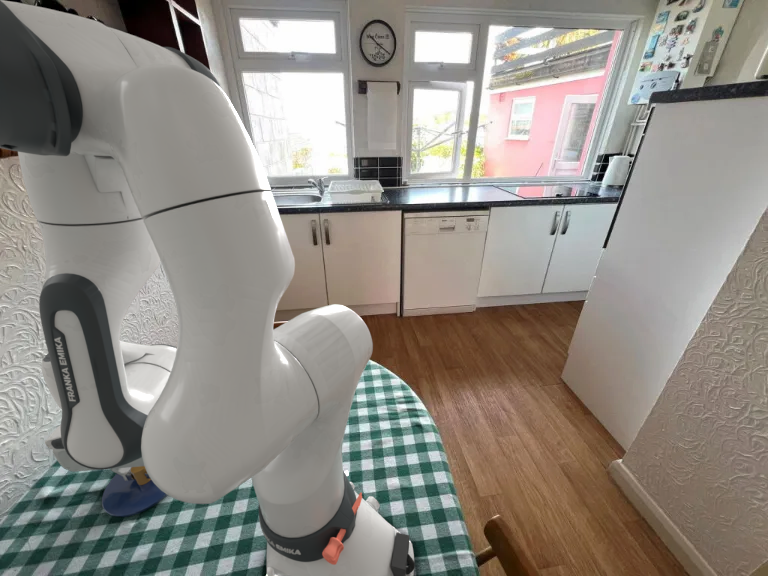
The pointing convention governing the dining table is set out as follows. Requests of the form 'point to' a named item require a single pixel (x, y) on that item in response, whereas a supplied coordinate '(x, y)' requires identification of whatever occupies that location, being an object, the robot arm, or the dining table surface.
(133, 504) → the tin lid
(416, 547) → the dining table surface
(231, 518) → the dining table surface
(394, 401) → the dining table surface
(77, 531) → the dining table surface
